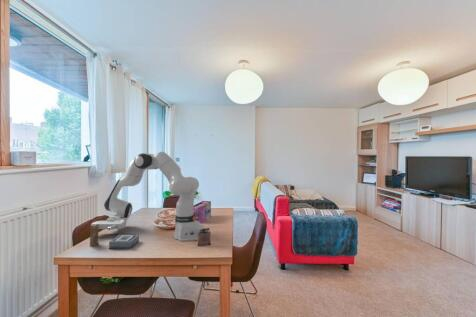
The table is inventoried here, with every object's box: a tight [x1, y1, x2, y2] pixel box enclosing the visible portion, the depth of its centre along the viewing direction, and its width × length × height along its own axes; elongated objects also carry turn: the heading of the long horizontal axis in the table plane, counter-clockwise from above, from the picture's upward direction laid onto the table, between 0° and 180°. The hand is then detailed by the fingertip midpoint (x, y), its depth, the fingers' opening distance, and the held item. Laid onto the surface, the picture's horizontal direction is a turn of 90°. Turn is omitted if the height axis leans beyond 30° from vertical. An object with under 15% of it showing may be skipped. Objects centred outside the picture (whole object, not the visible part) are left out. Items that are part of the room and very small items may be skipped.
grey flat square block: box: [108, 234, 140, 250], centre depth 138 cm, size 12×12×4 cm
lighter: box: [197, 227, 212, 247], centre depth 140 cm, size 8×3×10 cm, turn 114°
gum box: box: [193, 200, 212, 224], centre depth 195 cm, size 24×8×14 cm, turn 166°
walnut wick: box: [89, 223, 99, 247], centre depth 138 cm, size 2×4×12 cm, turn 1°
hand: (101, 228), depth 145 cm, fingers open, 8 cm apart
